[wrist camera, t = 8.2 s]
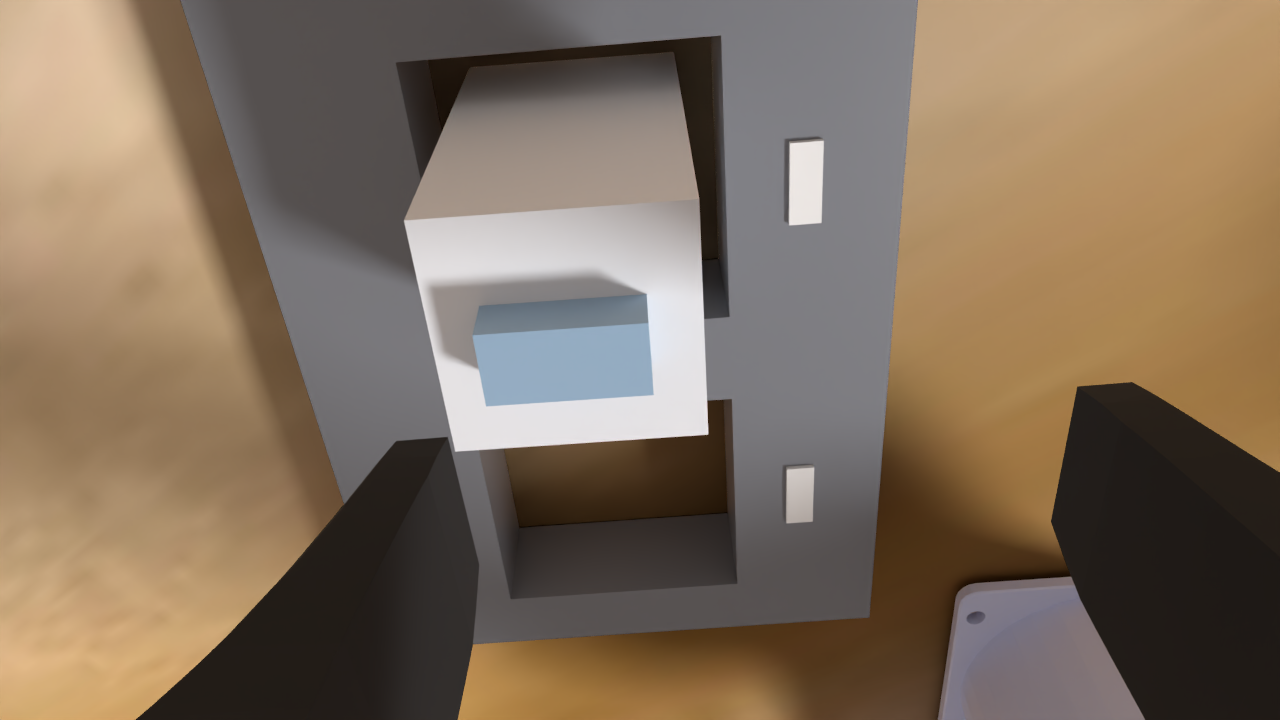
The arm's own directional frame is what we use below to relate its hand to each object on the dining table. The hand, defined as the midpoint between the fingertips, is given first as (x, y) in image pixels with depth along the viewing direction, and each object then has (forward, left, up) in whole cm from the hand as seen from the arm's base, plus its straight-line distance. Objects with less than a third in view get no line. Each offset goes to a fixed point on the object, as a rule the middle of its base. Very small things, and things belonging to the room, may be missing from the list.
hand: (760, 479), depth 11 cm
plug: (0, +2, -10) cm, 11 cm away
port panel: (-3, +2, -10) cm, 11 cm away
